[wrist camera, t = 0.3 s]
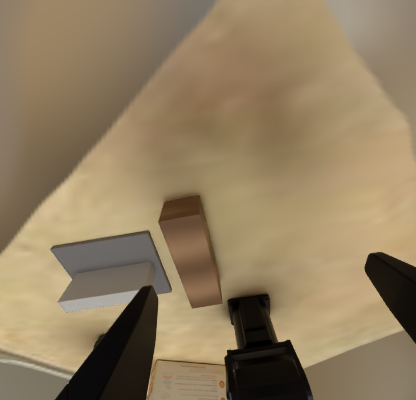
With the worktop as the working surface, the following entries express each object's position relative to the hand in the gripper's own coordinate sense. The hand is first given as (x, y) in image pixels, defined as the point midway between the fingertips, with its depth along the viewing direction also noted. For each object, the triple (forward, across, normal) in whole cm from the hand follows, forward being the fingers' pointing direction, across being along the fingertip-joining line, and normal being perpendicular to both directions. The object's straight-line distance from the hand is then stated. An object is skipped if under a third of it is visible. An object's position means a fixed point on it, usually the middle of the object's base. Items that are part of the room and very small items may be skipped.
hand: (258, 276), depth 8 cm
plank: (+14, +5, +10) cm, 18 cm away
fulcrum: (+14, +16, +12) cm, 24 cm away
